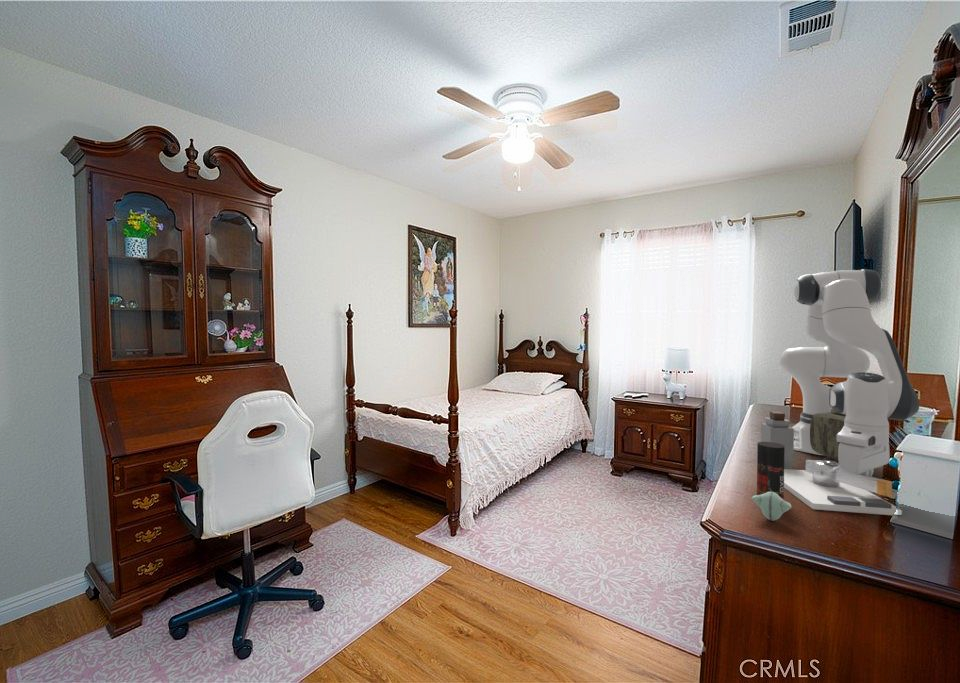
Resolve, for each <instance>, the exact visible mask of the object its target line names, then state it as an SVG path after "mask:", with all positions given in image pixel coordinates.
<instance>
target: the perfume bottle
mask: <svg viewBox="0 0 960 683" xmlns="http://www.w3.org/2000/svg"><path fill="white" fill-rule="evenodd" d="M768 413H769V416H768V417H767V416H766V417H764V420H765V423H760V442H773V443H778V444H782V445H784V446H785V454H784V469H792V470H794V457H795V456H794V454H795V452H794V451H795V450H794V429H793V428H792V427H791V426H790V424H791V421H790V420H789V419H787V418H786V413H784V412H782V411H769V412H768Z"/></svg>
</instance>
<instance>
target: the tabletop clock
mask: <svg viewBox="0 0 960 683" xmlns="http://www.w3.org/2000/svg"><path fill="white" fill-rule="evenodd" d="M845 417H846V415H845V414H841V413H838V412H836V411H835V410H834V409H833V408H832V409H831V412H827V413H817V414H814V415H813V417H812V419H811V423H810V444H811V447H812V449H813V450H814V451H816V452H817V453H819V454H822V455H821V456H824V455H825V457H824V458H823V461H824V460H830V461H831V459H834V460H833V461H835V462H838V461H839V459H838V447H839V444H840V443H841V442H838V441H837V434H838V433H839V432H840V431H841V430H842V428H843V426H844V420H845Z"/></svg>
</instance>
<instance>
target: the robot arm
mask: <svg viewBox="0 0 960 683" xmlns="http://www.w3.org/2000/svg"><path fill="white" fill-rule="evenodd" d="M882 288H883V280H882V279H881V275H880V273H878V272H877V271H876V270H874V269H868V268H867V269H866V268H863V269H857V270H856V269H842V270H833V271H824V272H817V273H806V274H804V275H800V276H799V277H797V279H796V282H795V284H794V285H793V294H794V297H795V299H796V301H797V302H798V303H799V304H801V305H803V306H804V305H805V306H808V307H807V314H806V315H807V316H806V330H805V331H806V334H807V336H809V337H810V338H811V339H813V340H814V341H817V342H820V343H821V344H824V345H825V346H798V347H791V348H790V347H789V348H786V349H785V350H784V351H783V352H782V353H781V355H780V357H779V364H780V367H781V369H782V370H783V371H784V372H785V373H786V374H788V375H789V376H791V377H792V379H794V380H795V381H796V383H797V384H798V386H799V387H800V391H801V394H802V411H800V414H799V416H800V418H799V422H798V423H796V424H794V425H793V426H792V427H791V428H793V429H794V451H797V452H803V453H808V454H811V455H812V454H813V455H818V456H825V455H822V454H819V453H817V452H816V451H814V450H813V449H812V447H811V444H810V423H811V419H812V417H813V415H814V414H817V413H827V412H831V409H832V408H833V409H834V410H835V411H836V412H838V413H841V414H845V415H846V417H845V420H844V426H843V428H842V430H841V431H840V432H839V433H838V434H837V441H838V442H841V443H840V444H839V447H838V464H839V468H840V470H841V471H842V472H845V473H848V474H853V475H858V474H864V475H868V476H871V477H873V474H874V469H877V468H880V467H882V466H884V465H885V466H886V465H888V464H889V462H890V458H891V457H890V456H891V454H890V453H891V452H890V444H889V443H890V439H889V438H890V422H889V420H894V421H905V420H908V419H909V418H911V417H913V416H914V415H916V414H917V413H918V412H919V409H920V401H919V395H918V394H917V392H916V391H915V388H914V387H913V385H912V383H911V382H910V379H909V377H908V374H907V372H906V369H905V366H904V364H903V361H902V358H901V356H900V352H899V351H898V349H897V347H896V343H895V342H894V339H893V337H892V335H891V334H890V333H889V331H888V330H886V329H884V328H882V327H880V326H879V325H878V324H877V323H876V321H875V320H874V319H873V316H872V313H871V306H870V302H871V301H874V300H876V299H877V298H878V297H879V296H880V294H881V291H882ZM866 352H868V353H870V354H871V355H873V356H874V358H875V360H877V363H878V365H879V368H880V371H881V374H882V375H880V374H878V373H873V372H868V370H869V368H870V366H871V361H870V357H869V356H868V354H867V353H866ZM822 377H825V378H844V379H845V378H846V380H844V381H842V382H837V383H836V384H833V385H832V386H829V385H826V384H824V383H822V382H821V378H822ZM825 457H826V456H825Z"/></svg>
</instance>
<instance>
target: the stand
mask: <svg viewBox="0 0 960 683" xmlns="http://www.w3.org/2000/svg"><path fill="white" fill-rule="evenodd" d="M784 490H787V491H788V492H789V493H790V494H792V495H794V497H796V499H799V500H800V501H802V502H803V504H805V505H807V507H809V508H811V509H812V510H817V511H819V510H820V511H821V510H822V511H832V512H833V511H834V512H845V513H846V512H847V513H857V514H870V515H871V514H873V515H884V516H885V515H886V516H894V515H893V514H894V513H895V512H896V509H897V508H896V507H897V506H896V505H894V504H893V503H890V502H888V501H887V500H885V499H884V498H882V497H879V496H878V495H876V494H874V493H873V492H871V491H868V490H864V489H861V488H858V487H854V486H851V485H848V484H845V483H841V482H840V486H838V487H830V486H824V485H820V484H817V483H814V482H813V481H812V474H811V473H808V472H806V469H793V470H792V469H784Z"/></svg>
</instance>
